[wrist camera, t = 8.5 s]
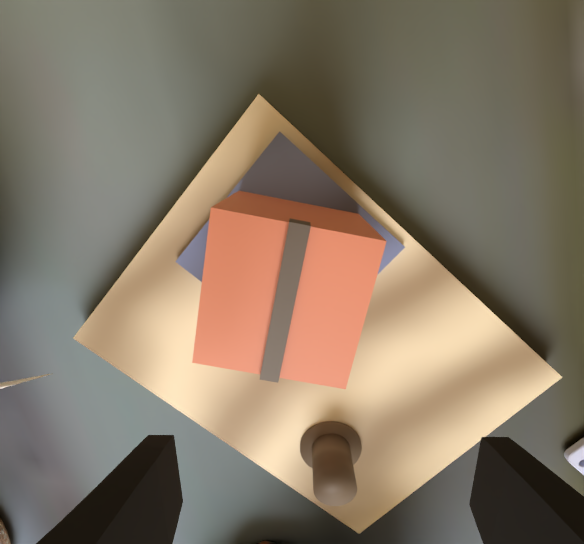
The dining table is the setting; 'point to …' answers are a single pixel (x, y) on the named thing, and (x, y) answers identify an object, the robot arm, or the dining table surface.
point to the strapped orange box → (285, 289)
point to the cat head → (18, 381)
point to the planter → (4, 534)
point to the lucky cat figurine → (266, 542)
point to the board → (369, 355)
